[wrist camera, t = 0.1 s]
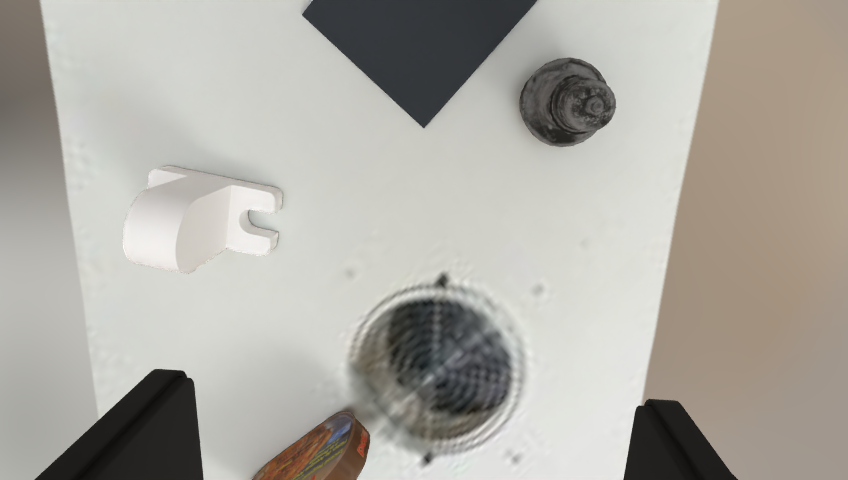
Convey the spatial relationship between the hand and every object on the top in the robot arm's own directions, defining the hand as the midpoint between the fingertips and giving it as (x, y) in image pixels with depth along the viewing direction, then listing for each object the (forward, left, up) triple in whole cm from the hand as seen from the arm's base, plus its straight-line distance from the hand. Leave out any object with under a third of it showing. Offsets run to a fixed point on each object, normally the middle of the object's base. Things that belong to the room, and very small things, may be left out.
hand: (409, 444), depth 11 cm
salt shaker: (-10, +2, -31) cm, 33 cm away
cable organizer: (+14, -12, -31) cm, 36 cm away
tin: (+27, +8, -31) cm, 42 cm away
